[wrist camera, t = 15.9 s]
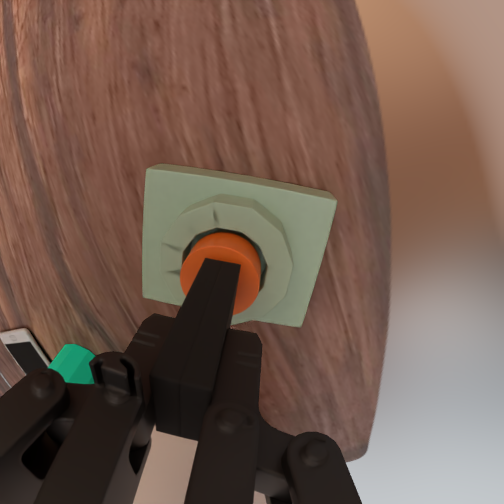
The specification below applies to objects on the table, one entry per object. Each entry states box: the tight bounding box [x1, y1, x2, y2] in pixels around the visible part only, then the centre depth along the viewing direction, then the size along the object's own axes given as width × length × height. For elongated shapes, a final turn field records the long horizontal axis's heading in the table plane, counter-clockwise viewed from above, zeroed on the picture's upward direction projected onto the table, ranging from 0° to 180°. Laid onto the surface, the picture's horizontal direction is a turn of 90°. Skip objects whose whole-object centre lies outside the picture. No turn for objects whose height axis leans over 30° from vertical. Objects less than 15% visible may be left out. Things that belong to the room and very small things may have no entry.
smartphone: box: [0, 328, 51, 375], centre depth 26 cm, size 8×1×15 cm
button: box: [180, 232, 261, 315], centre depth 14 cm, size 4×4×2 cm
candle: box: [48, 344, 95, 384], centre depth 19 cm, size 6×6×12 cm
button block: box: [142, 163, 337, 327], centre depth 16 cm, size 10×8×4 cm
